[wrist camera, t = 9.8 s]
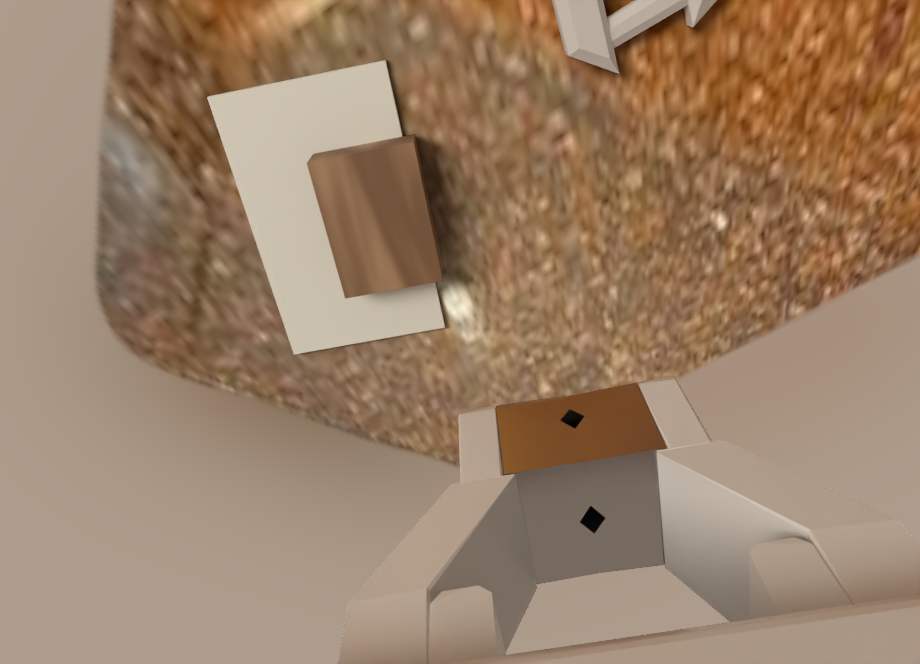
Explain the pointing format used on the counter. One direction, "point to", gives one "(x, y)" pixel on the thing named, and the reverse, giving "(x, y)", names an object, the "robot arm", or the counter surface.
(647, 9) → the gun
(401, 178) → the block
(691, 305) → the counter surface
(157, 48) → the counter surface
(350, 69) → the mat
